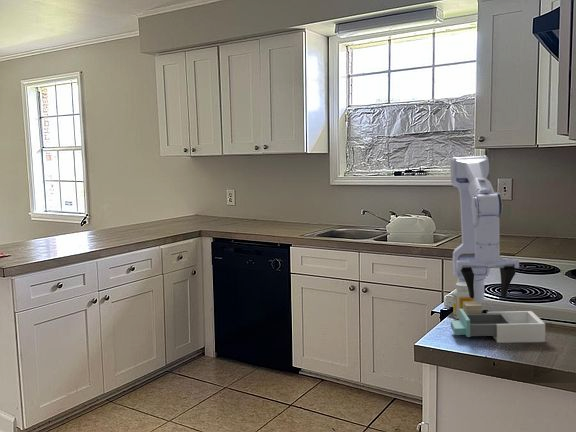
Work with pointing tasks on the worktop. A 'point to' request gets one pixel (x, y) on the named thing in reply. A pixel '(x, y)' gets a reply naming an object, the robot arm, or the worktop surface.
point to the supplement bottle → (460, 298)
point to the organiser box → (520, 327)
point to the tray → (477, 324)
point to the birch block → (472, 307)
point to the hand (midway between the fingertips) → (487, 296)
